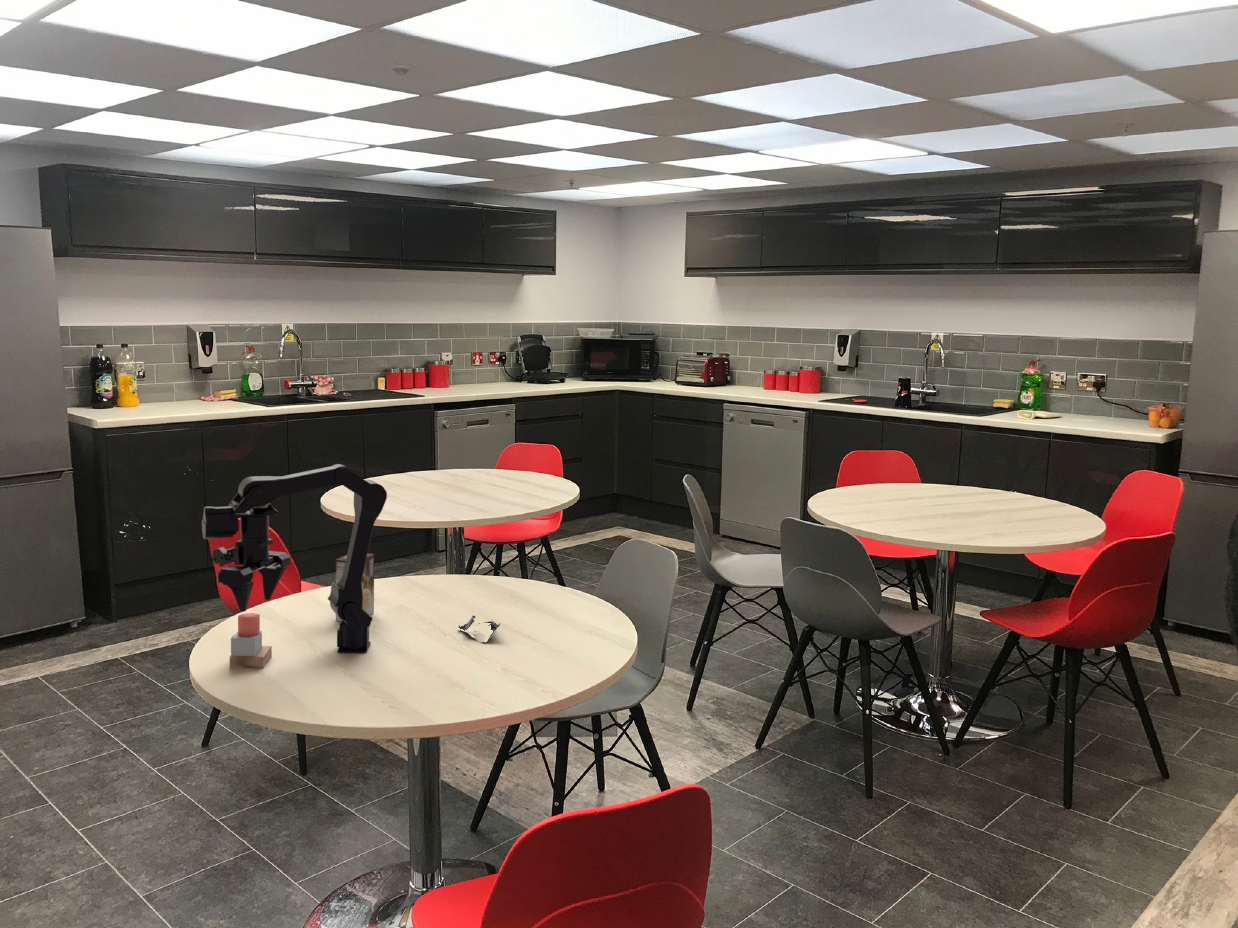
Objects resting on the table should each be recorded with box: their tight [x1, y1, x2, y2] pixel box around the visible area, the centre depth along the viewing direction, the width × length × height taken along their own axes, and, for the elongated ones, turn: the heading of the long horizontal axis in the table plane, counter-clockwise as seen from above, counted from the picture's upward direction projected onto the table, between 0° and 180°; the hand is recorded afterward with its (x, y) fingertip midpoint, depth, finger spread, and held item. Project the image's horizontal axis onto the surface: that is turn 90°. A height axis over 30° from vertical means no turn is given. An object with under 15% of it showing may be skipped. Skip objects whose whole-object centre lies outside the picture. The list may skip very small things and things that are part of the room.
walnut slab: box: [229, 645, 273, 670], centre depth 204 cm, size 7×7×3 cm
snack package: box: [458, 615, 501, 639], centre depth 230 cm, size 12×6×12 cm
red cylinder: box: [237, 612, 261, 637], centre depth 203 cm, size 4×4×4 cm
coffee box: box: [335, 553, 375, 622], centre depth 239 cm, size 9×6×16 cm
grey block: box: [230, 630, 263, 656], centre depth 203 cm, size 5×5×4 cm
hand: (255, 605), depth 204 cm, fingers open, 9 cm apart
